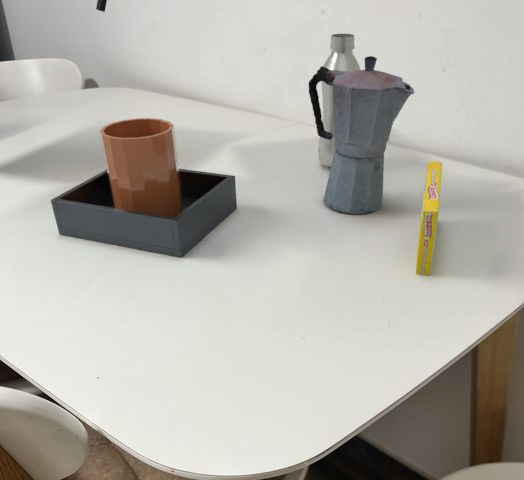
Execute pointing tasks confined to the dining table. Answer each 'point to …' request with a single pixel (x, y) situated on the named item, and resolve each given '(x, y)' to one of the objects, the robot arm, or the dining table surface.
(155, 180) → the pot
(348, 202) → the moka pot
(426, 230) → the candy box
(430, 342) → the dining table surface
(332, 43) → the silver bottle
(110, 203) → the tray
